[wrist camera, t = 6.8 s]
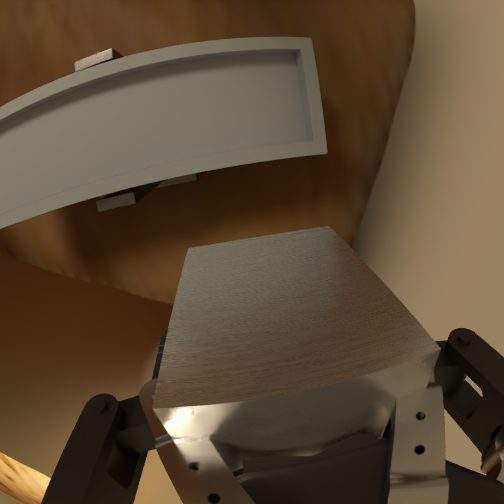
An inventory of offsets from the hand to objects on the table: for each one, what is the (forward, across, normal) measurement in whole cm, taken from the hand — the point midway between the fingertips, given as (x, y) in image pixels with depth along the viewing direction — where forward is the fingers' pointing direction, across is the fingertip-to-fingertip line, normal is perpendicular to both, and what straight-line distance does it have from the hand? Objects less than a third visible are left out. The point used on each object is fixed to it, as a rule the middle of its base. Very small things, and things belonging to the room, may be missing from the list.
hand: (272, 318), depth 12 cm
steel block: (+2, 0, 0) cm, 2 cm away
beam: (+12, +9, -10) cm, 18 cm away
